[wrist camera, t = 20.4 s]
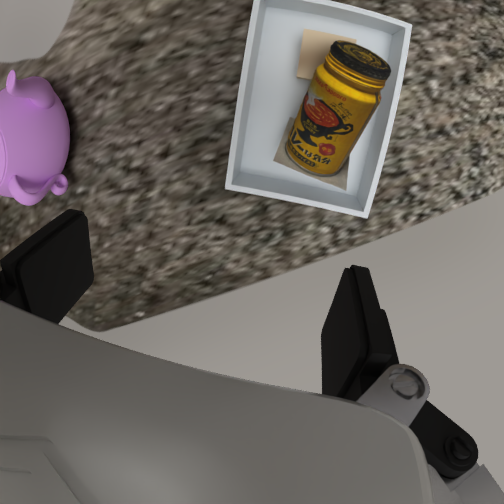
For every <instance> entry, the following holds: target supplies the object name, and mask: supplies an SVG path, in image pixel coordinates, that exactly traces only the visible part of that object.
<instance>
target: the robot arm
mask: <svg viewBox="0 0 504 504" xmlns="http://www.w3.org/2000/svg"><path fill="white" fill-rule="evenodd" d="M0 263H1V267H2V271H0V504H504V493H503V492H502V490H501V488H500V487H499V485H498V484H497V483H496V481H495V480H494V478H493V477H492V475H491V474H490V473H489V471H488V470H487V468H486V467H485V466H484V464H482V465H481V466H479V465H478V464H477V462H476V461H477V459H478V448H477V444H476V443H475V441H474V439H473V438H472V437H471V436H470V435H469V434H468V433H467V432H466V431H464V430H463V429H462V428H461V427H459V426H458V425H457V424H456V423H454V422H453V421H452V420H451V419H450V418H448V417H447V416H446V415H445V414H443V413H442V412H441V411H440V410H438V409H437V408H436V407H435V406H433V405H432V404H431V403H430V402H429V401H427V398H428V395H429V393H430V388H429V384H428V381H427V379H426V378H425V377H424V375H423V374H422V373H421V372H420V371H419V370H417V369H415V368H414V367H412V366H409V365H405V364H399V360H398V356H397V352H396V348H395V344H394V341H393V337H392V333H391V329H390V326H389V322H388V318H387V315H386V312H385V310H383V309H380V305H379V302H378V298H377V295H376V291H375V288H374V285H373V282H372V278H371V275H370V271H369V269H368V268H366V267H361V266H356V265H351V267H350V269H349V268H345V269H344V272H343V274H342V277H341V280H340V282H339V285H338V288H337V291H336V294H335V296H334V299H333V302H332V305H331V307H330V310H329V313H328V315H327V318H326V321H325V323H324V326H323V329H322V334H321V350H322V351H321V352H322V394H318V393H312V392H307V391H302V390H296V389H291V388H286V387H280V386H275V385H269V384H264V383H259V382H255V381H250V380H245V379H240V378H235V377H231V376H227V375H222V374H218V373H213V372H209V371H205V370H201V369H197V368H193V367H189V366H185V365H182V364H178V363H174V362H171V361H167V360H163V359H160V358H157V357H153V356H150V355H146V354H143V353H140V352H136V351H133V350H129V349H127V348H124V347H121V346H117V345H114V344H111V343H108V342H105V341H102V340H99V339H97V338H94V337H91V336H88V335H85V334H83V333H80V332H77V331H74V330H71V329H69V328H66V327H64V326H61V325H58V324H59V322H60V321H61V320H62V319H63V317H64V316H65V315H66V314H67V313H68V311H69V310H70V309H71V308H72V307H73V306H74V304H75V303H76V302H77V301H78V300H79V298H80V297H81V296H82V295H83V294H84V293H85V291H86V290H87V289H88V288H89V287H90V286H91V284H92V283H93V280H94V273H93V266H92V258H91V249H90V240H89V230H88V219H87V217H86V216H85V214H84V212H82V211H79V210H73V209H68V210H66V211H65V212H64V213H62V214H61V215H59V216H58V217H56V218H55V219H54V220H52V221H51V222H49V223H48V224H47V225H45V226H44V227H42V228H41V229H40V230H38V231H37V232H36V233H34V234H33V235H32V236H30V237H29V238H28V239H26V240H25V241H24V242H22V243H21V244H20V245H19V246H17V247H16V248H15V249H14V250H12V251H11V252H10V253H9V254H7V255H6V256H5V257H4V258H2V259H1V260H0Z"/></svg>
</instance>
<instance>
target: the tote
mask: <svg viewBox="0 0 504 504" xmlns="http://www.w3.org/2000/svg"><path fill="white" fill-rule="evenodd" d="M304 29H310V30H315V31H320V32H325V33H330V34H335V35H339V36H344V37H348V38H352V39H356V40H357V41H356V44H357V45H360V46H362V47H364V48H366V49H369V50H370V51H372V52H373V53H376V54H377V55H378V56H379V57H381V58H382V59H383V60H385V61H386V62H387V63H388V64H389V66H390V68H391V73H390V76H389V77H388V79H387V80H386V82H385V86H384V88H383V89H382V90H381V101H380V104H379V105H378V107H377V109H376V110H375V112H374V114H373V115H372V117H371V119H370V121H369V122H368V124H367V126H366V128H365V129H364V131H363V133H362V135H361V136H360V138H359V140H358V141H357V143H356V145H355V146H354V148H353V150H352V151H351V153H350V160H349V167H348V177H347V189H346V191H345V190H343V189H341V188H338V187H336V186H334V185H332V184H328V183H325V182H322V181H320V180H318V179H315V178H313V177H310V176H307V175H305V174H303V173H301V172H298V171H296V170H293V169H291V168H289V167H286V166H285V165H282V164H279V163H277V162H275V161H273V160H274V157H275V154H276V152H277V149H278V147H279V144H280V141H281V139H282V136H283V134H284V131H285V129H286V126H287V123H288V121H289V118H290V117H292V118H294V119H295V118H296V117H297V113H298V111H299V108H300V105H301V104H302V101H303V98H304V96H305V94H306V92H307V90H308V87H309V85H310V82H311V81H309V80H304V79H298V78H297V77H296V76H297V70H298V63H299V57H300V51H301V44H302V38H303V31H304ZM411 29H412V24H409V23H406V22H403V21H400V20H398V19H395V18H392V17H389V16H385V15H382V14H379V13H376V12H372V11H369V10H365V9H362V8H358V7H354V6H351V5H347V4H342V3H338V2H334V1H329V0H254V2H253V8H252V13H251V19H250V24H249V30H248V36H247V42H246V48H245V54H244V60H243V66H242V73H241V79H240V85H239V92H238V98H237V105H236V112H235V119H234V126H233V133H232V140H231V147H230V154H229V162H228V169H227V177H226V184H225V189H228V190H234V191H239V192H245V193H250V194H255V195H261V196H266V197H271V198H276V199H281V200H286V201H291V202H296V203H300V204H305V205H310V206H315V207H319V208H324V209H328V210H333V211H337V212H342V213H346V214H350V215H355V216H359V217H363V218H368V215H369V212H370V208H371V205H372V202H373V198H374V195H375V191H376V188H377V184H378V181H379V177H380V174H381V170H382V166H383V163H384V159H385V155H386V151H387V147H388V143H389V139H390V135H391V131H392V127H393V123H394V119H395V114H396V110H397V105H398V101H399V96H400V91H401V86H402V81H403V76H404V71H405V65H406V60H407V54H408V48H409V42H410V36H411Z"/></svg>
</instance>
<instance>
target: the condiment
mask: <svg viewBox="0 0 504 504" xmlns="http://www.w3.org/2000/svg"><path fill="white" fill-rule="evenodd" d="M330 48H331V49H330V50H329V53H328V54H327V55H326V57H325V63H323V64H321V65H320V66H318V67H317V68H316V70H315V72H314V75H313V78H312V80H311V82H310V85H309V87H308V90H307V92H306V94H305V96H304V98H303V101H302V104H301V105H300V108H299V111H298V113H297V117H296V118H295V119H294V118H292V117H290V118H289V121H288V123H287V126H286V129H285V131H284V134H283V136H282V139H281V141H280V144H279V147H278V149H277V152H276V154H275V157H274V160H273V161H275V162H277V163H279V164H282V165H285V166H286V167H289V168H291V169H293V170H296V171H298V172H301V173H303V174H305V175H307V176H310V177H313V178H315V179H318V180H320V181H322V182H325V183H328V184H332V185H334V186H336V187H338V188H341V189H343V190H345V191H346V189H347V177H348V167H349V160H350V153H351V151H352V150H353V148H354V146H355V145H356V143H357V141H358V140H359V138H360V136H361V135H362V133H363V131H364V129H365V128H366V126H367V124H368V122H369V121H370V119H371V117H372V115H373V114H374V112H375V110H376V109H377V107H378V105H379V104H380V101H381V90H382V89H383V88H384V86H385V82H386V80H387V79H388V77H389V76H390V73H391V68H390V66H389V64H388V63H387V62H386V61H385V60H383V59H382V58H381V57H379V56H378V55H377V54H376V53H373V52H372V51H370V50H369V49H366V48H364V47H362V46H360V45H357V44H355V43H352V42H348V41H341V40H338V41H335V42H334V43H333V44H332V45H331V47H330Z"/></svg>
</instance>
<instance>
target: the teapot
mask: <svg viewBox="0 0 504 504" xmlns="http://www.w3.org/2000/svg"><path fill="white" fill-rule="evenodd" d="M69 145H70V128H69V121H68V117H67V114H66V111H65V108H64V106H63V104H62V102H61V100H60V99H59V97H58V96H57V95H56V93H55V92H54V90H53V88H52V86H51V85H50V83H49V82H48V81H47V80H46V79H44V78H42V77H39V76H33V77H29V78H26V79H22V80H17V78H16V74H15V71H14V70H11V71H10V73H9V75H8V78H7V83H6V88H4V89H3V90H1V91H0V195H2V196H6V197H14V198H15V199H16V200H17V201H18V202H19V203H21V204H23V205H34V204H36V203H38V202H39V201H40V200H41V199H42V198H43V197H44V196H45V195H46V194H47V192H48V191H49V190H50V189H51V191H52V192H53V193H54V194H56V195H61V194H63V193H65V192H66V190H67V188H68V181H67V178H66V177H65V176H64V175H63V174H61V172H62V171H63V168H64V166H65V163H66V160H67V157H68V152H69ZM57 185H58V186H59V187H58V186H57Z"/></svg>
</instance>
